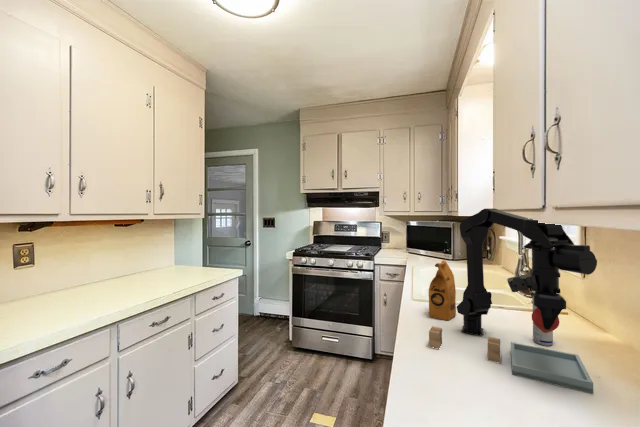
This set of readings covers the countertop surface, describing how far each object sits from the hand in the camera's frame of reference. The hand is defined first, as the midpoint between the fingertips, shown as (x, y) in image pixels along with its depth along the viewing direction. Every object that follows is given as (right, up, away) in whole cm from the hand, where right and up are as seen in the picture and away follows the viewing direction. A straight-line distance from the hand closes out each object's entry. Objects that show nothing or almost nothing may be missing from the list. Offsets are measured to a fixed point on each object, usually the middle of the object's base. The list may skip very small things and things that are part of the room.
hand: (545, 325), depth 78 cm
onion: (0, -2, 0) cm, 2 cm away
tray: (0, -12, 0) cm, 12 cm away
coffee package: (-10, -12, +42) cm, 45 cm away
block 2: (-10, -12, +6) cm, 17 cm away
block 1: (-24, -12, +15) cm, 30 cm away
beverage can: (+11, -12, +15) cm, 22 cm away
